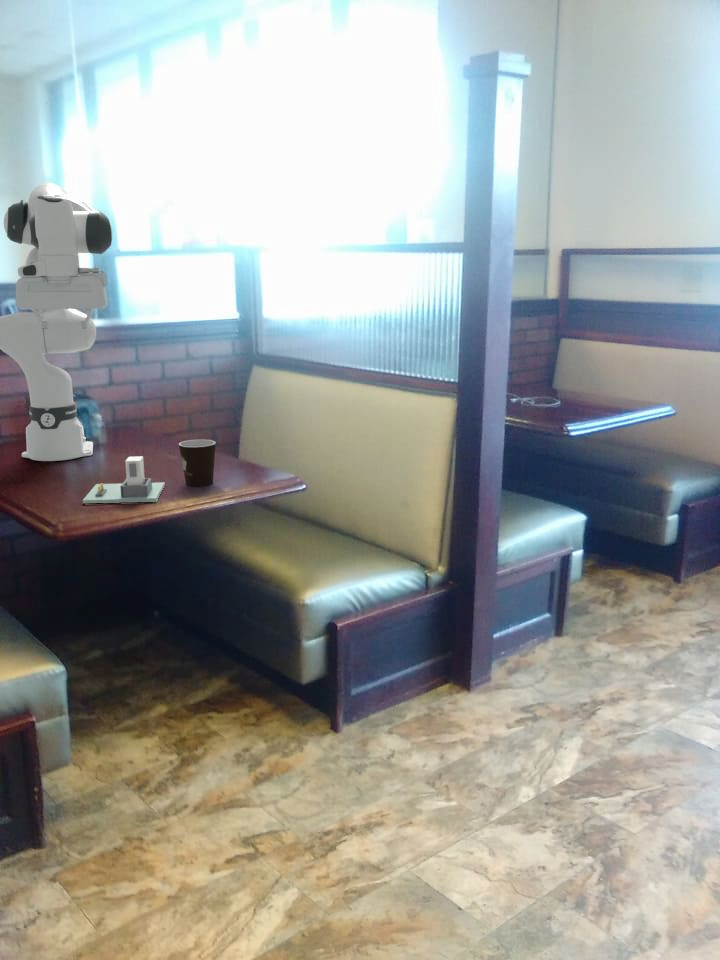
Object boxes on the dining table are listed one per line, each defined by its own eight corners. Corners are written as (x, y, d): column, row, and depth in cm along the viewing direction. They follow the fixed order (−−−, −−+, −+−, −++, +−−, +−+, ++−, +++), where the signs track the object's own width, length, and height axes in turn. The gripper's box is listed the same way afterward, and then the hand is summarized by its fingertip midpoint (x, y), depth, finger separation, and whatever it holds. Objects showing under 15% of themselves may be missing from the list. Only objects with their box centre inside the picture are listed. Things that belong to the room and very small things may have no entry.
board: (96, 488, 206) (95, 473, 206) (164, 486, 208) (164, 472, 207) (83, 504, 193) (81, 489, 192) (156, 502, 194) (155, 487, 193)
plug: (131, 490, 200) (128, 456, 198) (145, 490, 200) (143, 456, 198) (127, 496, 195) (124, 461, 193) (141, 496, 196) (139, 461, 194)
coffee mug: (216, 488, 206) (214, 446, 203) (179, 489, 205) (176, 447, 203) (219, 476, 217) (217, 436, 215) (184, 476, 216) (182, 437, 214)
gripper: (108, 267, 205) (112, 327, 208) (18, 268, 203) (24, 328, 207) (102, 268, 199) (107, 329, 202) (10, 268, 197) (16, 330, 201)
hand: (65, 328), depth 204 cm, fingers open, 8 cm apart
